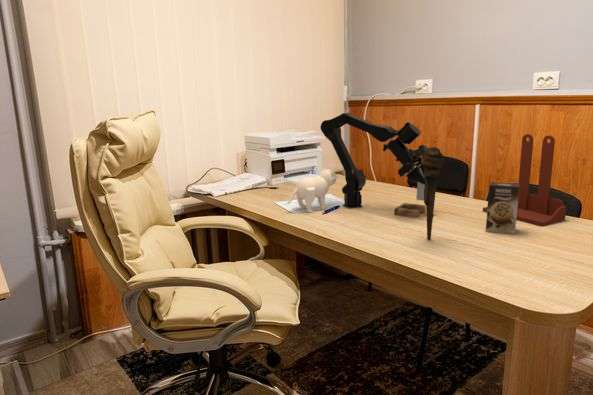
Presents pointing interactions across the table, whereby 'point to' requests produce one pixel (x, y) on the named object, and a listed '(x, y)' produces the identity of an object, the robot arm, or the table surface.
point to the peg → (420, 189)
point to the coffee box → (502, 207)
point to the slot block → (409, 210)
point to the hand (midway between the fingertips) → (427, 182)
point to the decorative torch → (430, 181)
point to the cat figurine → (314, 189)
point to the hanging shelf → (538, 206)
